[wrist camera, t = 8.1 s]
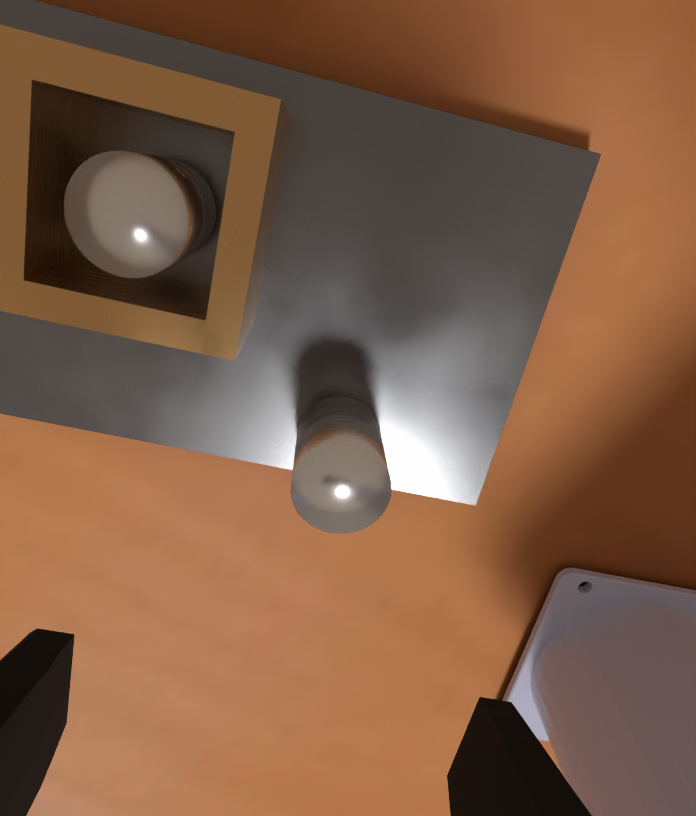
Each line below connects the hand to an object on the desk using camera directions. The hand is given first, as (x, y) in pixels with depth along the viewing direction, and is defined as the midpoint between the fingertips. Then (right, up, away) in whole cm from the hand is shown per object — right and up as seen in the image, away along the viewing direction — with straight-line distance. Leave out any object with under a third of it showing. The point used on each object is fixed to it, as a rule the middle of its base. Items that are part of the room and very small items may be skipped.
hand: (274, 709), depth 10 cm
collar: (-4, +11, +5) cm, 13 cm away
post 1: (-4, +11, +6) cm, 13 cm away
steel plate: (-1, +9, +7) cm, 12 cm away
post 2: (+1, +5, +9) cm, 10 cm away
